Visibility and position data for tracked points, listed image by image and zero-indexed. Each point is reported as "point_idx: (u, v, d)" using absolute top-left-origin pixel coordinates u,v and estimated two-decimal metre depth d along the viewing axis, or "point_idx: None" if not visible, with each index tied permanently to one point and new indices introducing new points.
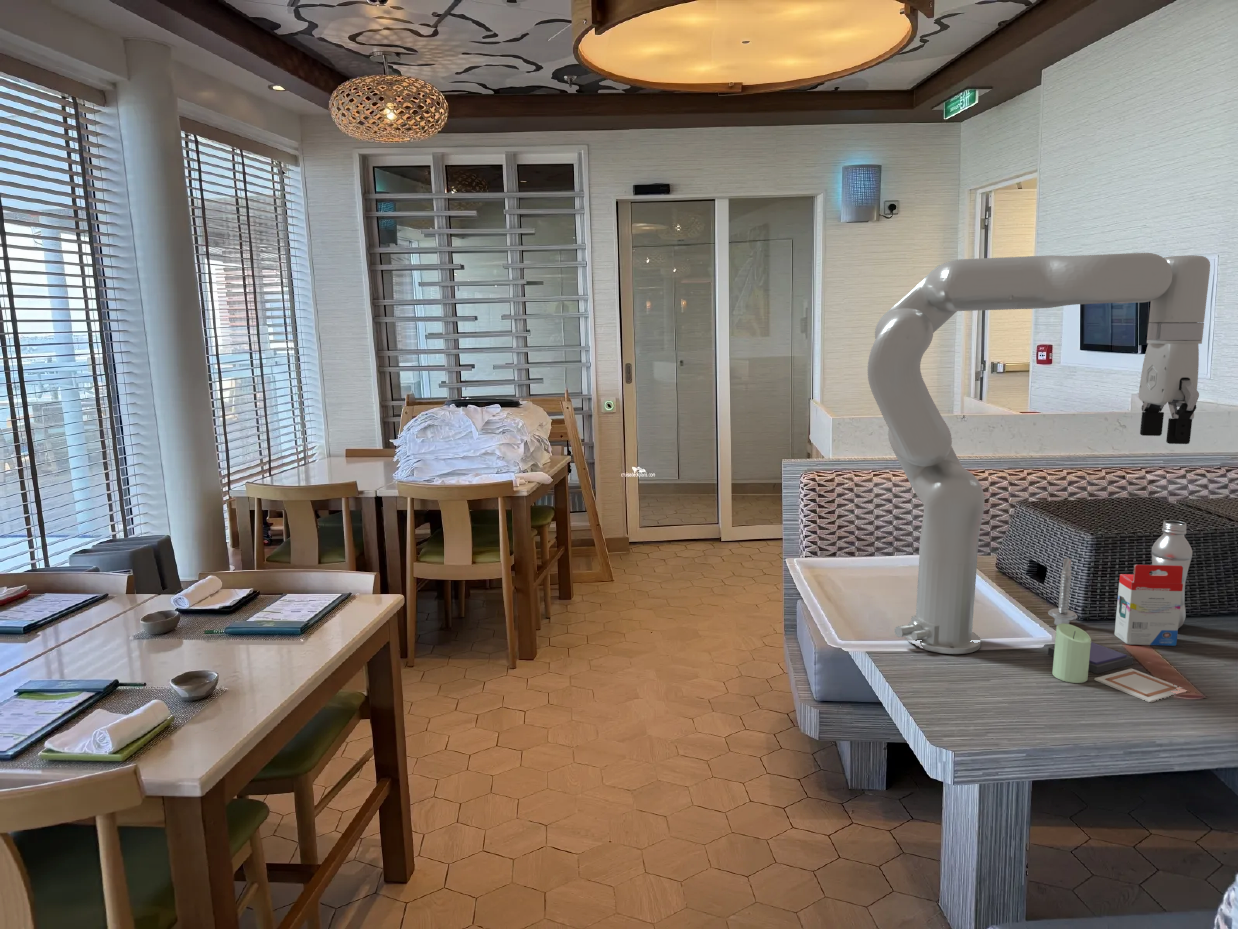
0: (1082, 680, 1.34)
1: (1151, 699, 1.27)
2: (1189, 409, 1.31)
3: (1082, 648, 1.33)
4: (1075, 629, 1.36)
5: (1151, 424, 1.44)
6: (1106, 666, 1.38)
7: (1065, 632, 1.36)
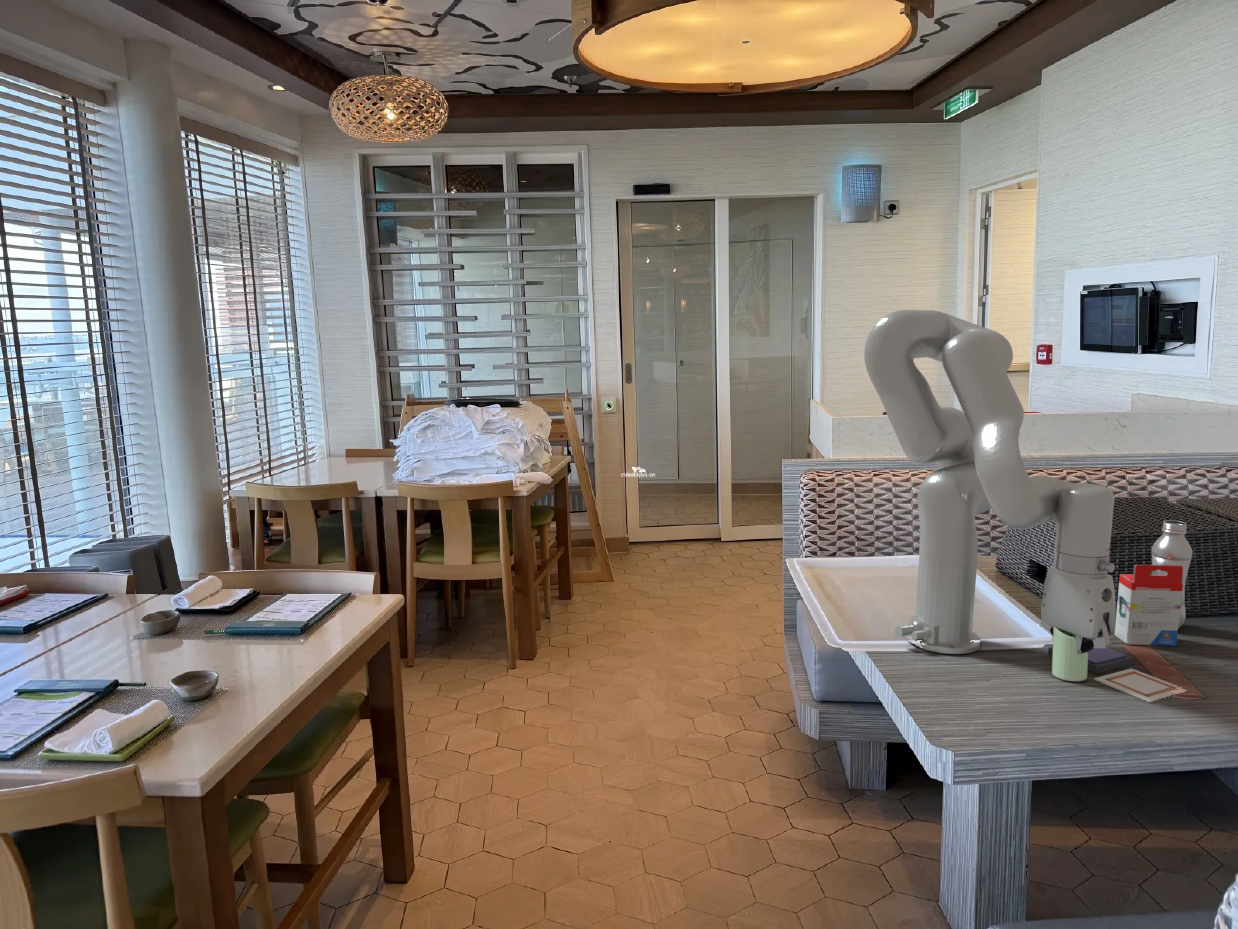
0: (1082, 678, 1.34)
1: (1151, 699, 1.27)
2: None
3: None
4: None
5: None
6: (1106, 666, 1.38)
7: None
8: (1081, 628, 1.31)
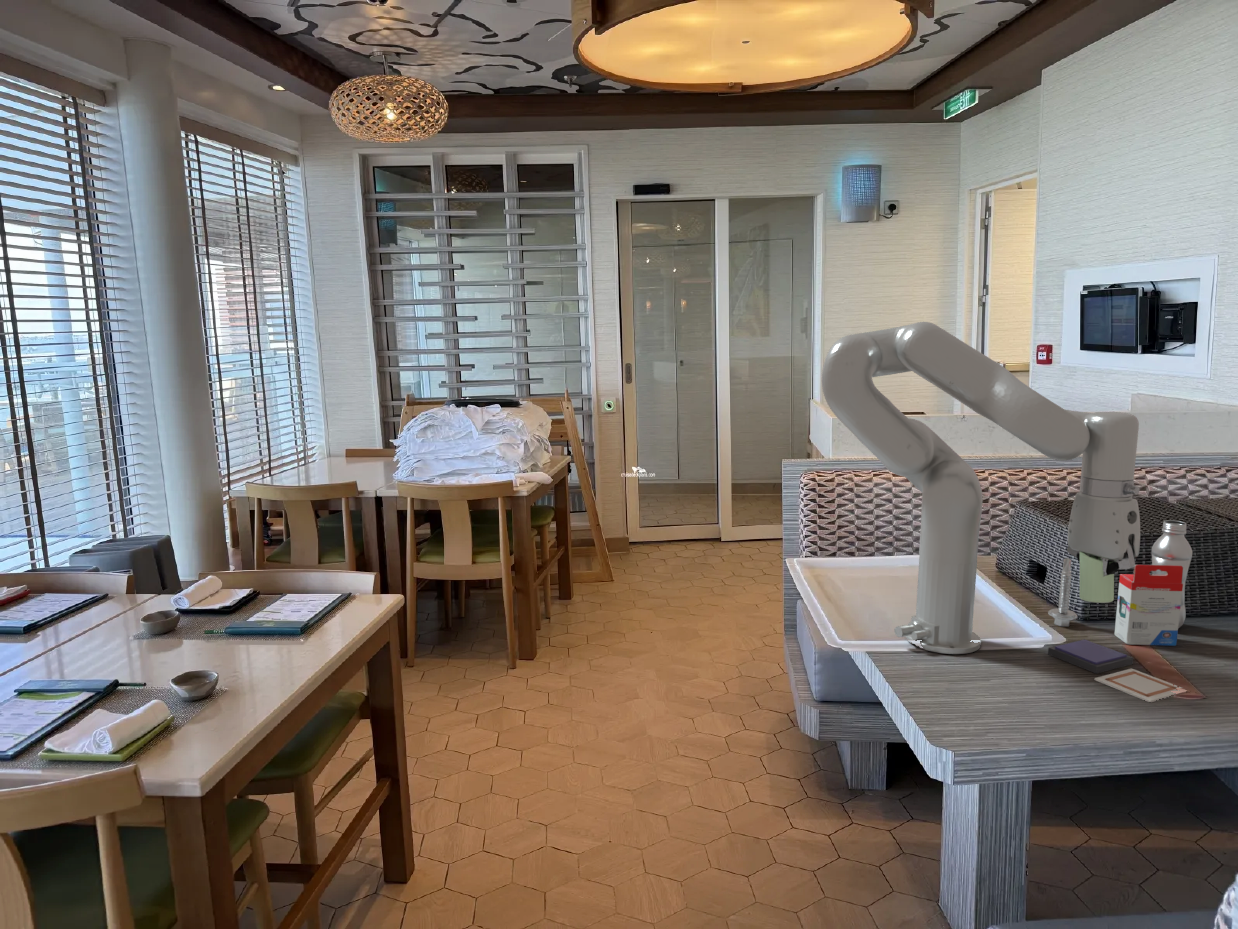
0: (1109, 599, 1.39)
1: (1151, 699, 1.27)
2: None
3: None
4: None
5: None
6: (1106, 666, 1.38)
7: None
8: (1107, 550, 1.37)
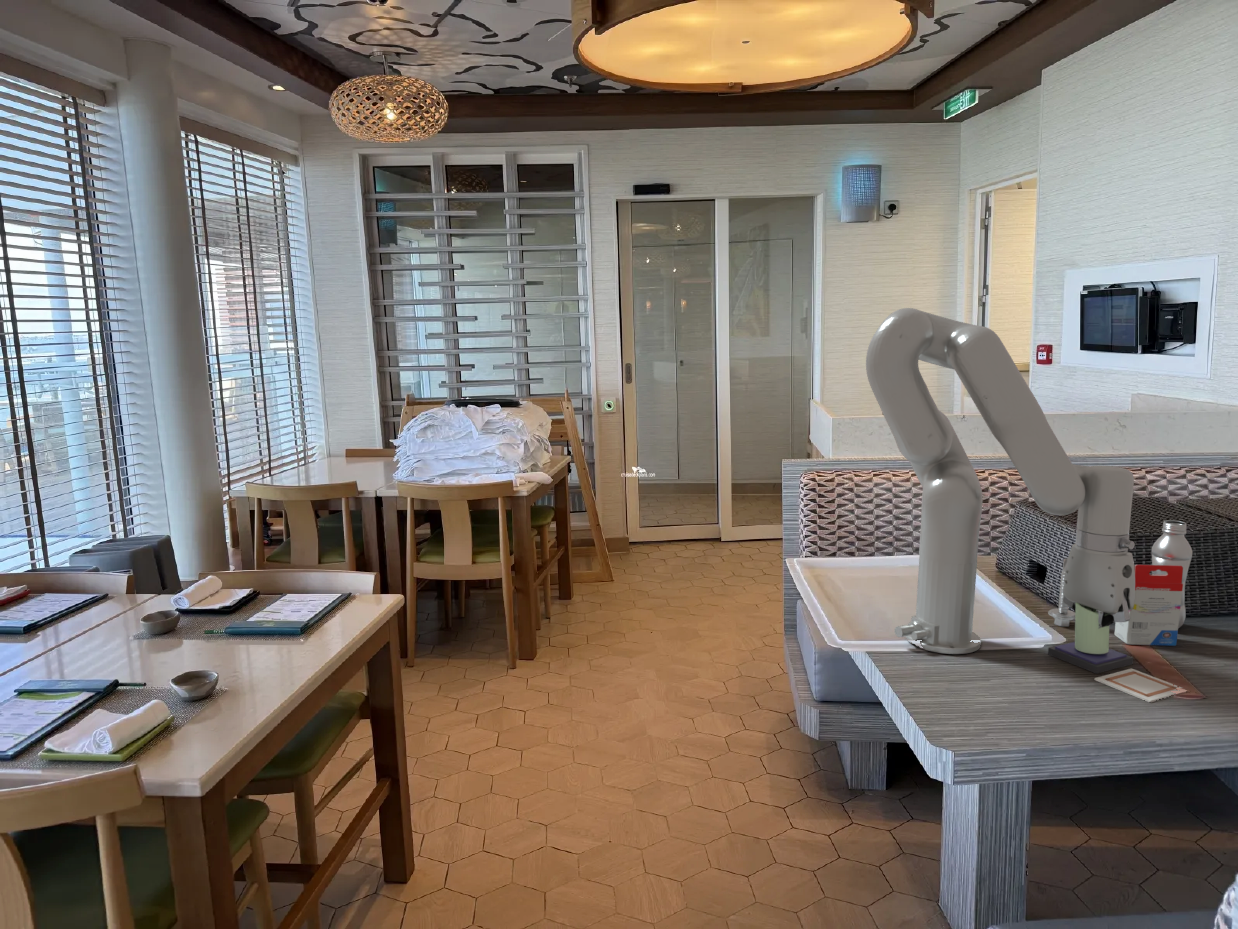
0: (1104, 651, 1.41)
1: (1151, 699, 1.27)
2: None
3: None
4: None
5: None
6: (1106, 666, 1.38)
7: None
8: (1102, 603, 1.38)
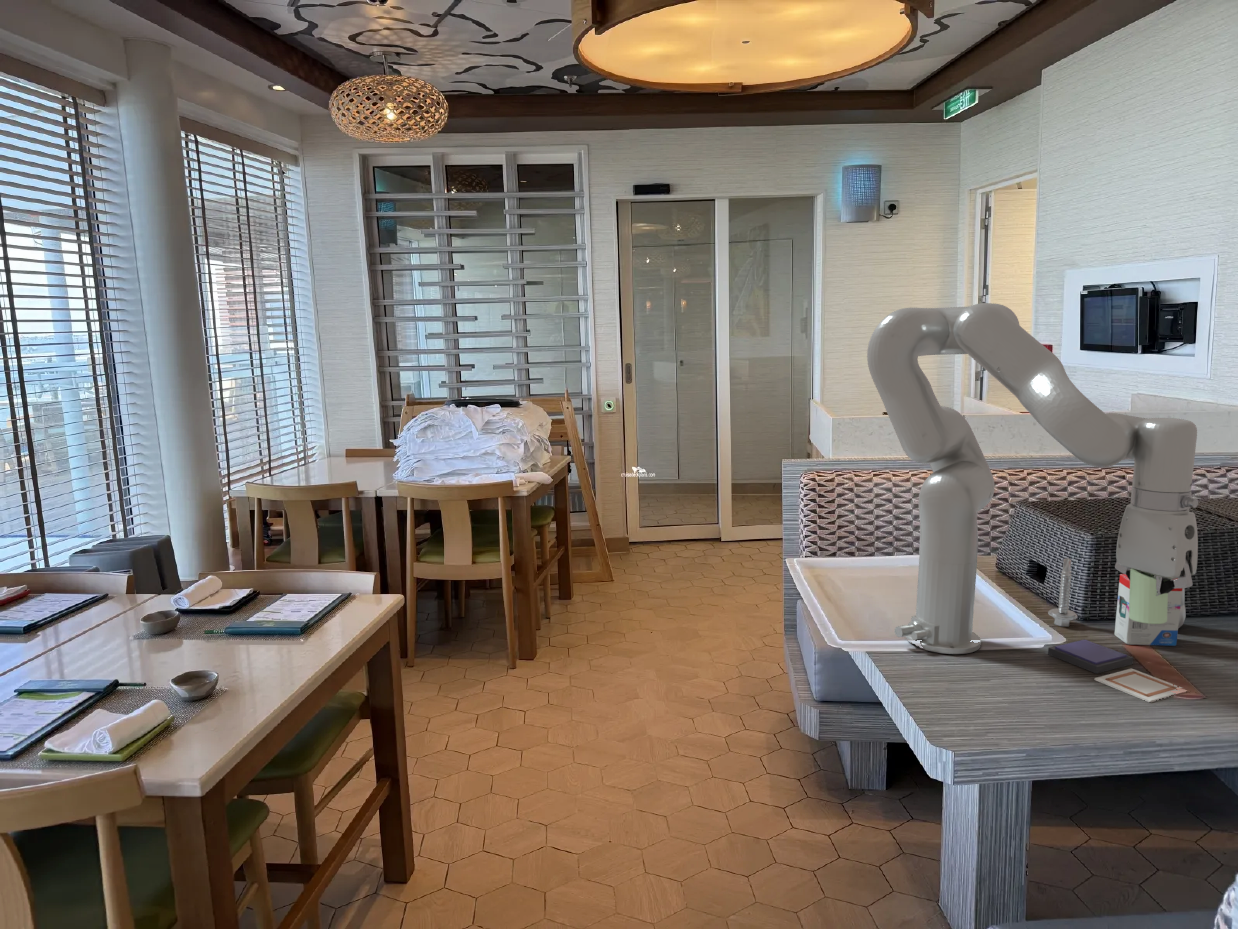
0: (1162, 620, 1.29)
1: (1151, 699, 1.27)
2: None
3: None
4: None
5: None
6: (1106, 666, 1.38)
7: None
8: (1162, 568, 1.26)
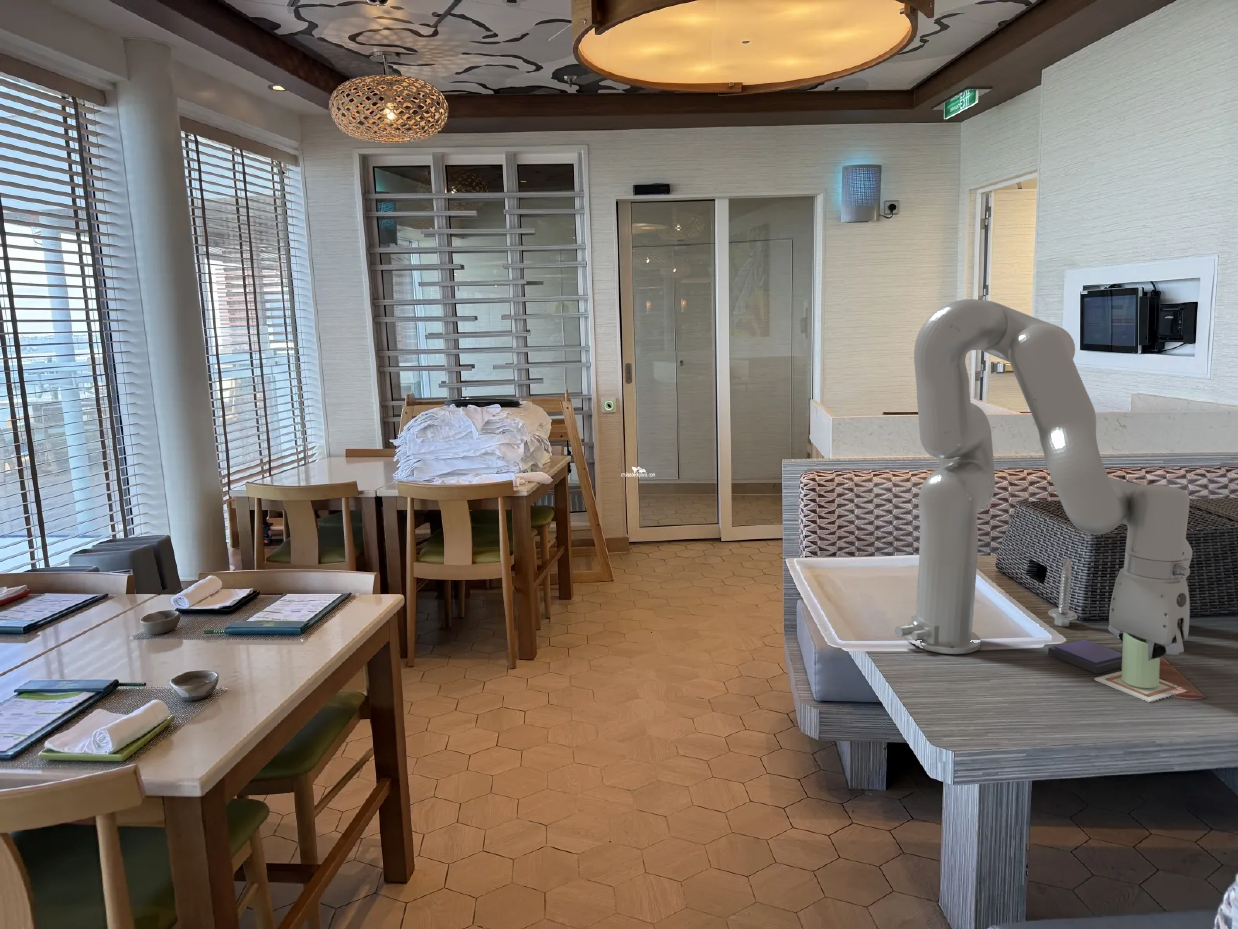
0: (1154, 685, 1.30)
1: (1151, 699, 1.27)
2: None
3: None
4: None
5: None
6: (1106, 666, 1.38)
7: None
8: (1154, 634, 1.28)
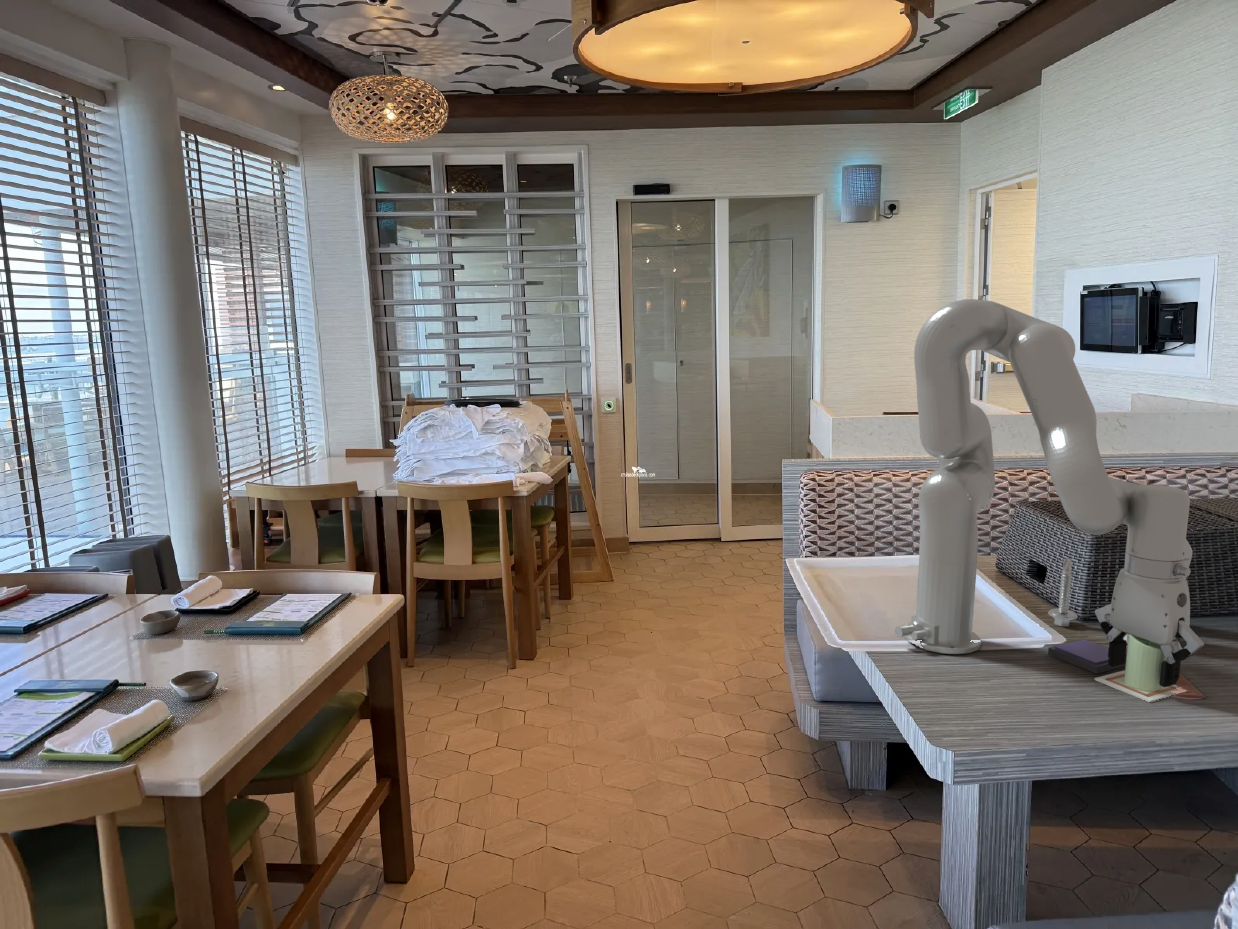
0: (1157, 688, 1.30)
1: (1151, 699, 1.27)
2: None
3: (1157, 655, 1.29)
4: None
5: None
6: (1106, 666, 1.38)
7: (1138, 639, 1.32)
8: (1154, 634, 1.28)
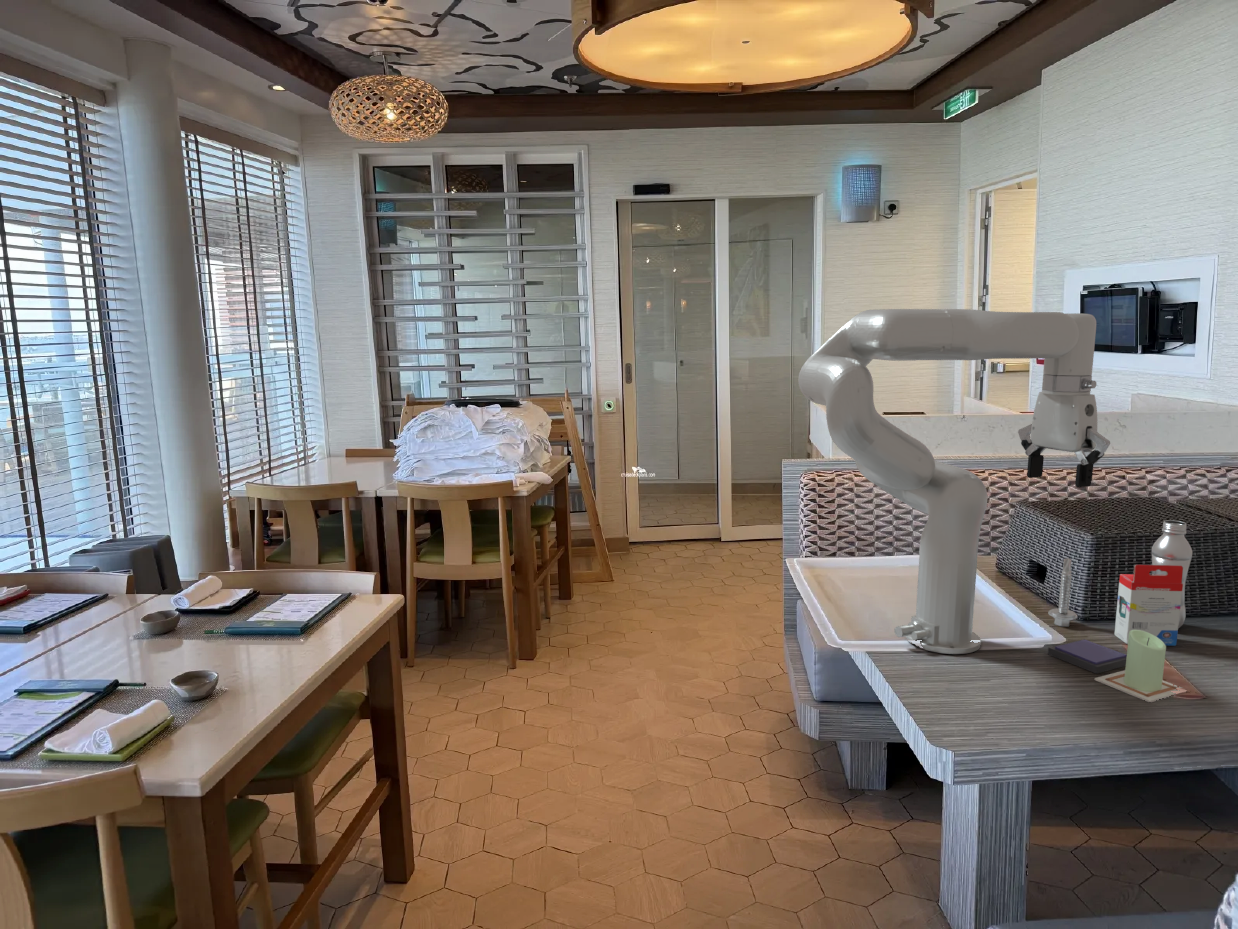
0: (1157, 688, 1.30)
1: (1151, 699, 1.27)
2: None
3: (1157, 655, 1.29)
4: (1148, 636, 1.33)
5: None
6: (1106, 666, 1.38)
7: (1138, 639, 1.32)
8: (1066, 442, 1.46)
